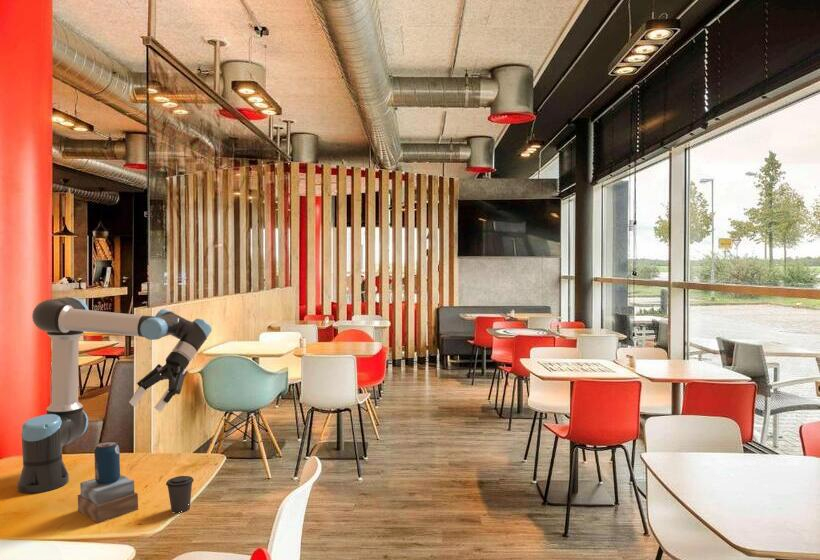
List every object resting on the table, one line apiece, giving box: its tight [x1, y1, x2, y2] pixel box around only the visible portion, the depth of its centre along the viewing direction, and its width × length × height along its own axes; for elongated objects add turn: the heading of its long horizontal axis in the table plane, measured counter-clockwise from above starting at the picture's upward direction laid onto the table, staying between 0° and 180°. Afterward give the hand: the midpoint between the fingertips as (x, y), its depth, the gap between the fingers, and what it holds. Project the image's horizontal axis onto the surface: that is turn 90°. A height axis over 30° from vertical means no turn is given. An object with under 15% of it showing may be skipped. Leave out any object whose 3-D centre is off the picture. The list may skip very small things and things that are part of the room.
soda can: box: [94, 440, 121, 485], centre depth 183 cm, size 7×7×12 cm
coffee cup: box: [165, 475, 195, 514], centre depth 183 cm, size 8×8×10 cm
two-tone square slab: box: [77, 474, 139, 524], centre depth 184 cm, size 14×12×9 cm
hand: (144, 407), depth 200 cm, fingers open, 13 cm apart
